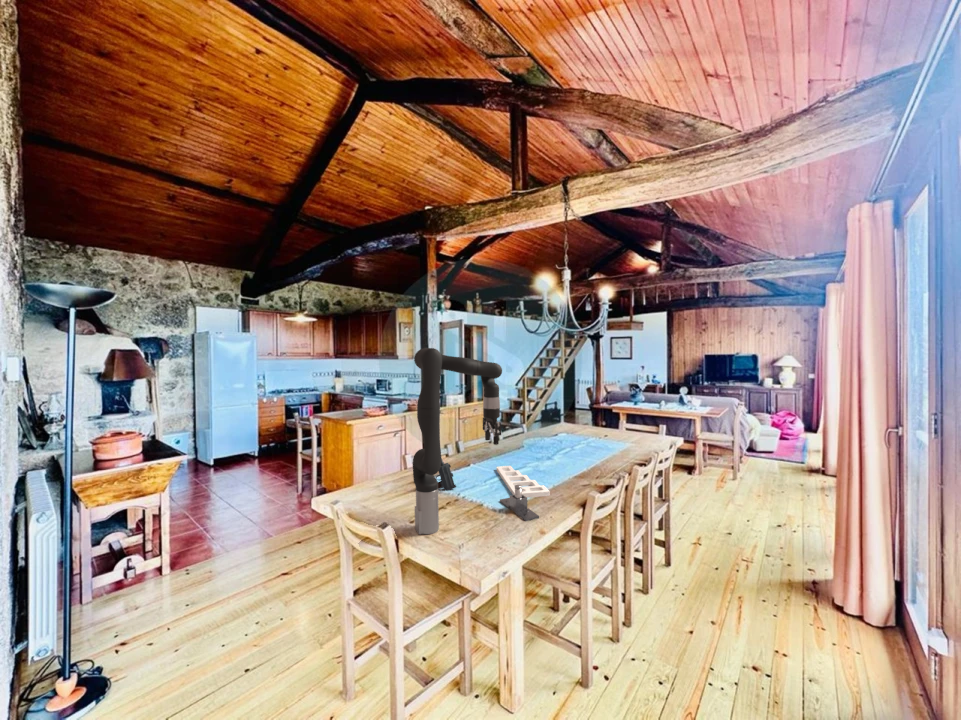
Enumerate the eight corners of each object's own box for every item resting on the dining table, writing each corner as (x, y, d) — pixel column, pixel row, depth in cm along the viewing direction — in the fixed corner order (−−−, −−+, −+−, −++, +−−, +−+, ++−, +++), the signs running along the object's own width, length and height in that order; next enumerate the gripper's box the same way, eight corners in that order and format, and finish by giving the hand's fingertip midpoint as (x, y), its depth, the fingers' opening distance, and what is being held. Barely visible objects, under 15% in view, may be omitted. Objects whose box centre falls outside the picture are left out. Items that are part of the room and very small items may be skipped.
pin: (517, 511, 186) (517, 487, 186) (513, 508, 189) (513, 485, 189) (523, 510, 188) (523, 486, 187) (519, 507, 190) (519, 484, 190)
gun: (419, 464, 212) (447, 455, 215) (428, 494, 214) (456, 485, 216) (420, 466, 210) (448, 457, 212) (429, 496, 211) (456, 487, 214)
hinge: (525, 521, 176) (525, 507, 176) (499, 501, 198) (499, 489, 197) (539, 518, 179) (539, 504, 179) (512, 499, 201) (512, 487, 200)
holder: (496, 471, 246) (496, 466, 246) (525, 469, 249) (525, 464, 249) (515, 499, 202) (515, 494, 202) (549, 496, 205) (549, 491, 205)
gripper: (477, 405, 189) (477, 439, 189) (491, 409, 176) (491, 446, 176) (491, 404, 192) (492, 438, 193) (506, 408, 179) (506, 444, 180)
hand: (491, 442), depth 185 cm, fingers open, 8 cm apart
